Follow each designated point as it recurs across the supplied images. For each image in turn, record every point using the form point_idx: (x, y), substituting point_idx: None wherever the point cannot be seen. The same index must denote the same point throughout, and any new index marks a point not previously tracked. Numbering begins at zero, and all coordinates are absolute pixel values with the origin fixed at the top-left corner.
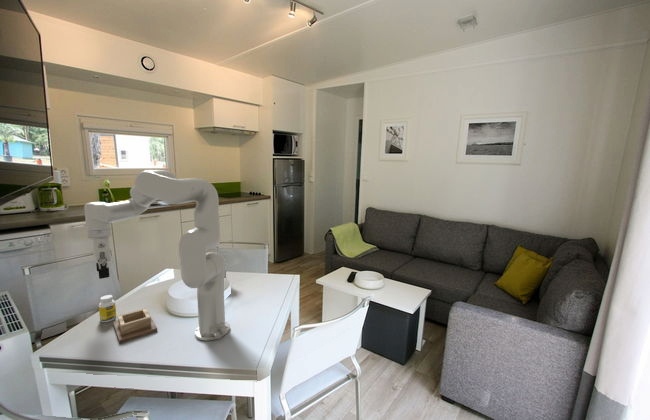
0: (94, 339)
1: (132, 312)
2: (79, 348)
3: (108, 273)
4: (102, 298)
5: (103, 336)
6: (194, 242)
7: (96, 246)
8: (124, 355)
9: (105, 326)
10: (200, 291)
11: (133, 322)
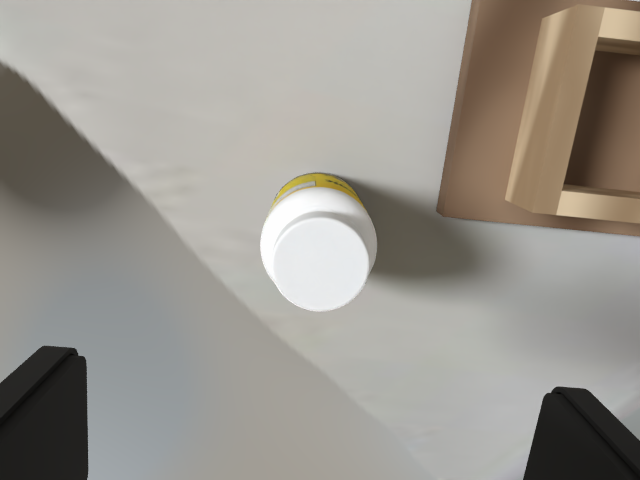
0: (524, 320)
1: (569, 114)
2: (557, 384)
3: (626, 441)
4: (332, 299)
5: (531, 281)
6: None
7: None
8: None
9: (411, 249)
10: None
11: None
